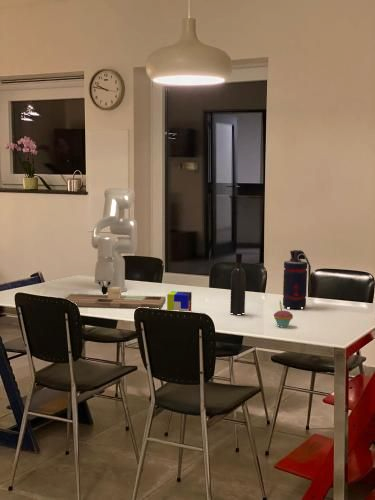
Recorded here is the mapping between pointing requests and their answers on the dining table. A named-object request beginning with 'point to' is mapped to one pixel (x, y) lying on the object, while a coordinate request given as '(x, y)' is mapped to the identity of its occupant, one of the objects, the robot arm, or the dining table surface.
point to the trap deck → (116, 301)
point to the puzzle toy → (179, 301)
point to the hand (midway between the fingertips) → (104, 293)
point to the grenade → (296, 280)
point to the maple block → (114, 292)
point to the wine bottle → (238, 287)
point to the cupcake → (283, 317)
